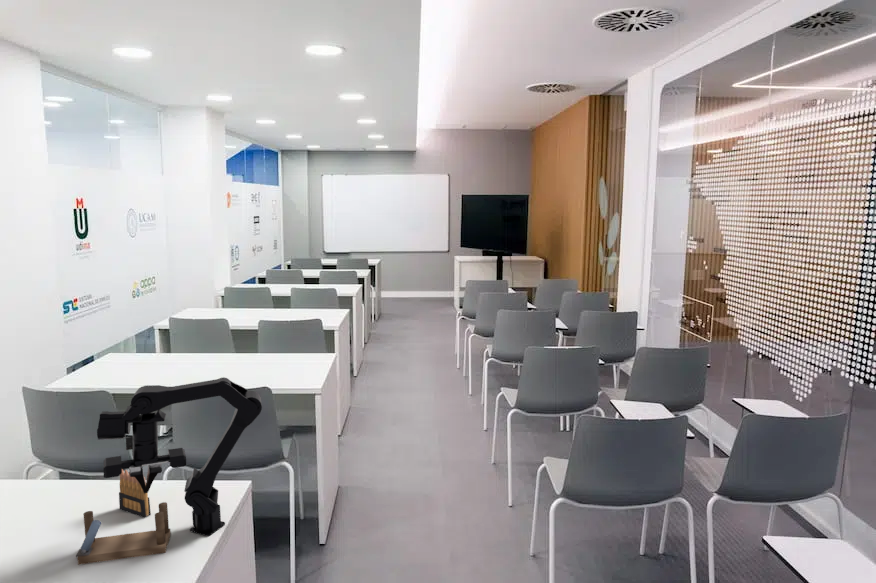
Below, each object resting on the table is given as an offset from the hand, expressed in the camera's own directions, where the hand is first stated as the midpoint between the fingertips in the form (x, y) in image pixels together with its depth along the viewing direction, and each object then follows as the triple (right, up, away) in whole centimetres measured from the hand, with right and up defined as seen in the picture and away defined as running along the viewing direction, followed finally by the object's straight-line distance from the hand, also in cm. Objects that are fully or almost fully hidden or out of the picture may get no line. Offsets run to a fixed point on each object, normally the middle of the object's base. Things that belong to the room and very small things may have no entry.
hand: (145, 492), depth 154 cm
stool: (-2, -12, -6) cm, 14 cm away
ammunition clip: (-9, -10, +13) cm, 19 cm away
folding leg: (-10, -11, -11) cm, 18 cm away
